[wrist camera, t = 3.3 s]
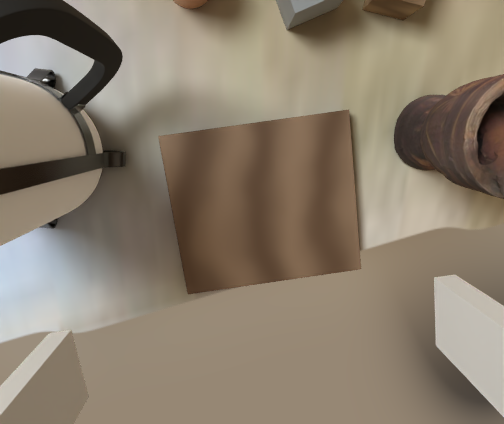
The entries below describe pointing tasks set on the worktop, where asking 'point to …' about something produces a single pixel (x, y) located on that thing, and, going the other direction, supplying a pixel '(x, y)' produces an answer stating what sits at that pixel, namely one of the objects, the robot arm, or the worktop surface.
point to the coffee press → (50, 121)
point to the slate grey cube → (304, 10)
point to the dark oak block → (394, 7)
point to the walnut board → (263, 201)
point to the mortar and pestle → (458, 135)
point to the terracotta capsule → (190, 3)
